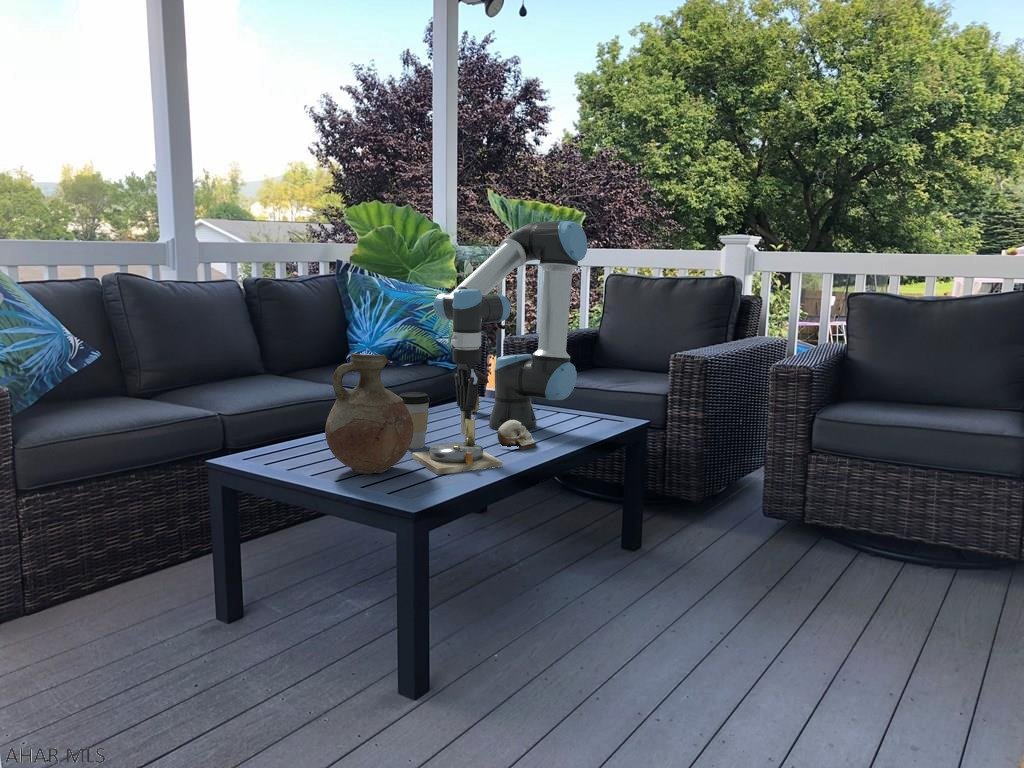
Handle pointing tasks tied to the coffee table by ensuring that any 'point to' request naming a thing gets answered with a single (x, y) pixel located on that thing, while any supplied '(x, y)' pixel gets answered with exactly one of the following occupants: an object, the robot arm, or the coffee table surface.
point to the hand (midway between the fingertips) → (465, 433)
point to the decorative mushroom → (482, 380)
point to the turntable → (458, 447)
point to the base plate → (450, 467)
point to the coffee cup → (417, 416)
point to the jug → (367, 419)
